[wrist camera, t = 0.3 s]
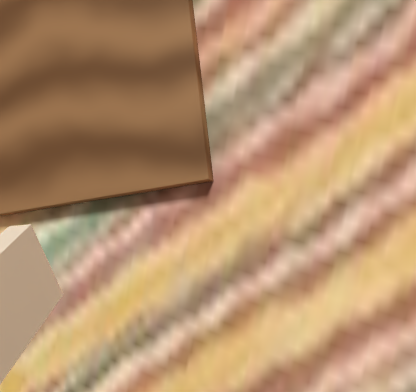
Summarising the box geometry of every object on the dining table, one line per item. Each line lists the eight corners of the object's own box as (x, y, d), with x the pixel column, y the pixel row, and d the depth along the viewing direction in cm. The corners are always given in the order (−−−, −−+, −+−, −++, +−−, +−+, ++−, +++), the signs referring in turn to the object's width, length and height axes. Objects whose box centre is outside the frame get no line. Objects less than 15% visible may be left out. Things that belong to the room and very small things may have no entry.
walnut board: (213, 181, 28) (208, 178, 27) (0, 216, 34) (-12, 215, 33) (185, -60, 31) (180, -71, 30) (-9, 9, 37) (-20, 2, 36)
